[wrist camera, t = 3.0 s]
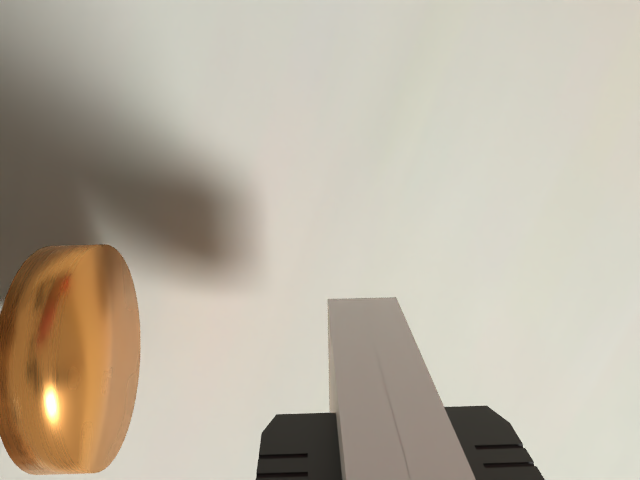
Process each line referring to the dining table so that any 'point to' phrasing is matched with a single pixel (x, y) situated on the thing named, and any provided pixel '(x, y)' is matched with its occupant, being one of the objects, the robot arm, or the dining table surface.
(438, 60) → the dining table surface
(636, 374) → the dining table surface
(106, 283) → the pin
